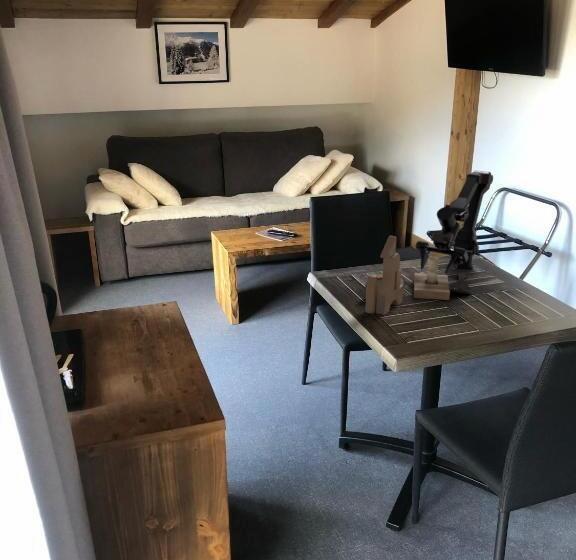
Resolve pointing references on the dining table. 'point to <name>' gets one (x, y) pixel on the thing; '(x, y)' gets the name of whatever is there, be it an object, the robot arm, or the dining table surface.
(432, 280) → the cream ridged cylinder
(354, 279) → the dining table surface
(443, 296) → the brown box
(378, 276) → the tin
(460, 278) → the hairbrush
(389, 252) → the wooden toy
